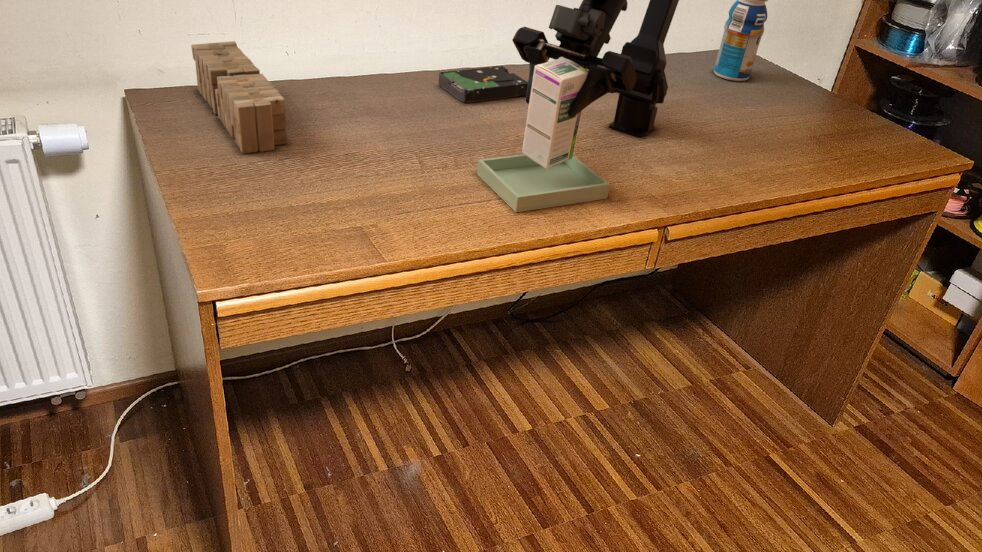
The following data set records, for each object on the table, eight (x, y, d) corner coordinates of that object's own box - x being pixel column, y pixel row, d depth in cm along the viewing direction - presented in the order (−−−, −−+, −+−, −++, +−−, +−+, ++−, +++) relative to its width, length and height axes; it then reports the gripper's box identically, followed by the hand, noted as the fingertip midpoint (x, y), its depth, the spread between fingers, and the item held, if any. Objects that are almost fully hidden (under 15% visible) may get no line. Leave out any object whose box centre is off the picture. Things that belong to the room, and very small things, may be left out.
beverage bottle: (707, 68, 183) (731, -25, 171) (742, 70, 184) (769, -22, 172) (718, 80, 177) (744, -16, 165) (754, 83, 177) (783, -12, 166)
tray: (515, 212, 117) (517, 197, 116) (476, 174, 126) (478, 159, 125) (607, 198, 124) (610, 184, 122) (563, 163, 133) (566, 149, 132)
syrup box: (546, 170, 120) (564, 80, 110) (519, 152, 123) (534, 63, 113) (572, 159, 124) (591, 70, 114) (545, 142, 126) (561, 54, 116)
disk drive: (499, 78, 164) (437, 85, 157) (501, 65, 162) (438, 71, 155) (528, 96, 157) (464, 104, 150) (530, 82, 156) (465, 89, 148)
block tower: (290, 153, 128) (239, 84, 147) (288, 102, 123) (236, 37, 142) (240, 159, 124) (195, 87, 143) (236, 107, 119) (190, 40, 138)
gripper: (526, -33, 114) (476, 62, 113) (645, -3, 107) (593, 99, 106) (546, 15, 124) (501, 102, 123) (656, 45, 117) (608, 138, 116)
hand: (548, 109), depth 117 cm, fingers closed on syrup box, 7 cm apart
